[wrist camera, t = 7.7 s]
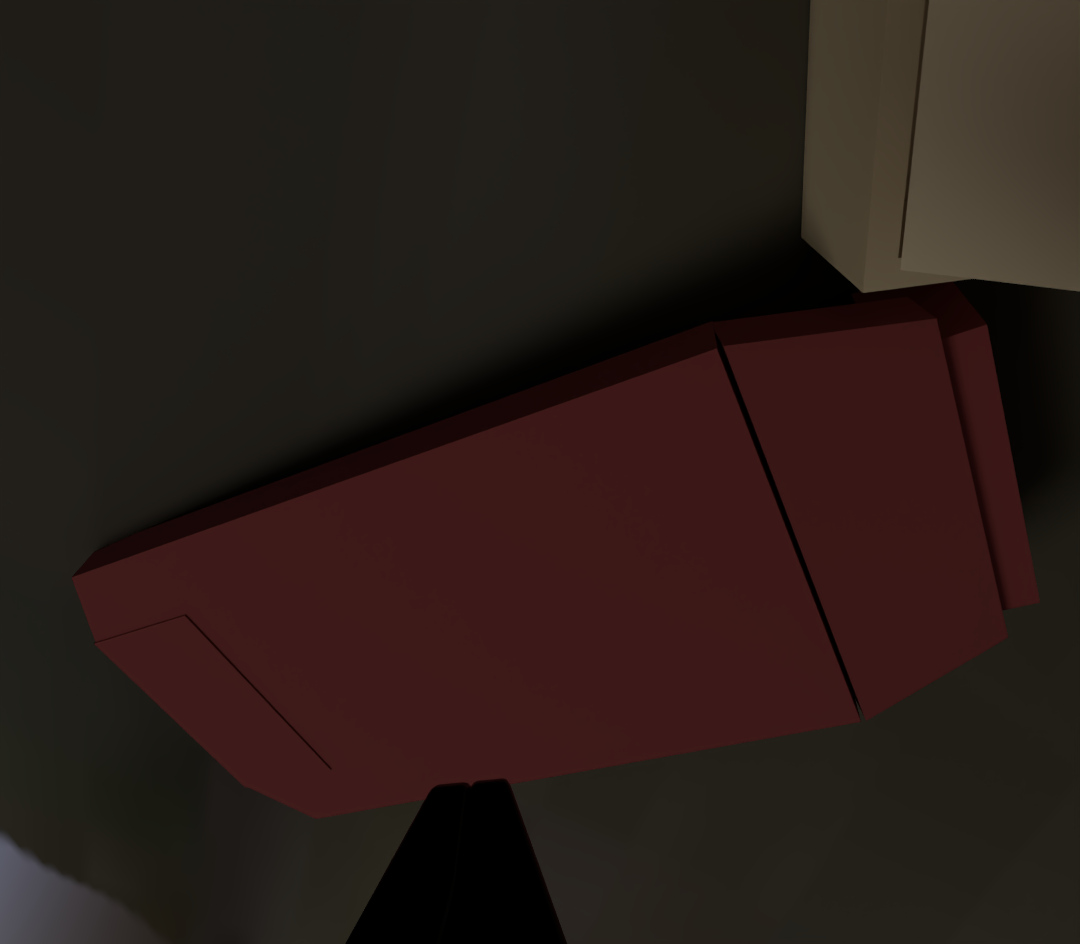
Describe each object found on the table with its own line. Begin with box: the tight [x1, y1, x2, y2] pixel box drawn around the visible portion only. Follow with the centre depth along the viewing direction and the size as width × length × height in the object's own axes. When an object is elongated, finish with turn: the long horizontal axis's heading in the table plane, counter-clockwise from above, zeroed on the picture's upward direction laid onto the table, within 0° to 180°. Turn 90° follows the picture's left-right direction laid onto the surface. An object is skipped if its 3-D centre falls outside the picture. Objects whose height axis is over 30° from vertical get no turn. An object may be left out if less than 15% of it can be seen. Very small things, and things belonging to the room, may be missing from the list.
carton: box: [72, 281, 1040, 819], centre depth 23 cm, size 12×5×25 cm
